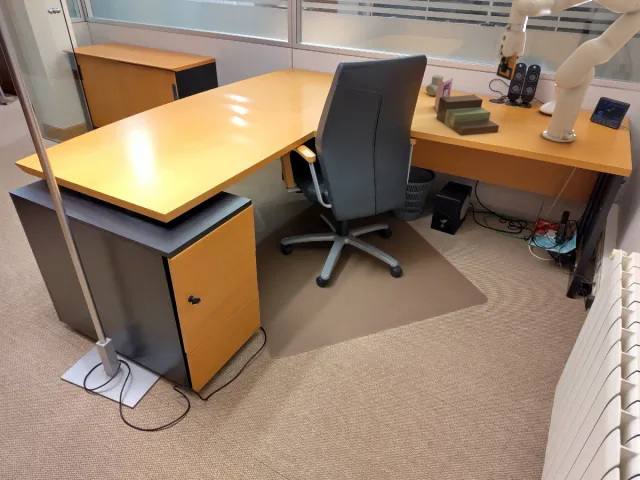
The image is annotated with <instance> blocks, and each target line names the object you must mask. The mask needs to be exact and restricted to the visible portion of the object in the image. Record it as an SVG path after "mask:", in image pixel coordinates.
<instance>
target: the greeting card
mask: <svg viewBox="0 0 640 480" xmlns="http://www.w3.org/2000/svg"><path fill="white" fill-rule="evenodd" d="M453 80H454V78H453V77H452V78H450V79H448V80H445V81H444V80H443V81H442V80H441V78H440V77H439V80H438V86H437V93H436V96H435V99H434V106H433V107H434V109H435V110H436V112H438V106H439V100H440V97H450V96H451V92H452V86H453Z"/></svg>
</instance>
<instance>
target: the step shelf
mask: <svg viewBox="0 0 640 480" xmlns="http://www.w3.org/2000/svg"><path fill="white" fill-rule="evenodd" d="M483 100H484V99H483V98H481V97H479V96H477V95H475V94H467V95H465V94H464V95H452V96H451V95H450V97H440V100H439V106H438V112H437V111H436V112H437V113H436V119H437V120H439V121H440V122H441V123H443V124H444V125H446V126H447V127H449V128H451V129H452V130H453V131H455V132H456V133H458V134H459V135H461V136H467V135H468V136H469V135H479V134H489V133H490V134H491V133H498V131H499V127H500V125H499V124H497V123H496V122H494V121H492V120H490V117H491V113H492V112H491V111H490V110H487V109H485V108H484V107H482V105H483Z"/></svg>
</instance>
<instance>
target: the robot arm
mask: <svg viewBox="0 0 640 480" xmlns="http://www.w3.org/2000/svg"><path fill="white" fill-rule="evenodd" d="M591 1H592V2H595V3H597V4H598V5H600V6H602V7H603V8H606V9H608V10H609V11H611V12H612V13H615V14H621V15H620V17H618V18H617V19H616V20H615V21H613V22H612V23H611V24H610V25H609V27H608V28H606V30H605V31H603V33H602V34H601V35H599V36H598V37H595V38H592V39H588V40H586V41H584V42H583V43H581V44H580V45H579V46H578V47H577V48H576V49H575V50H574V51H573V52H572V53H571V54H570V55H569V56H568V57H567V58H566V59H565V60H564V61H563V63H561V65H560V66H559V67H558V68H557V69H556V71H555V74H554V79H553V80H554V84H556V85H557V86H558V87H559V88H562V89H561V91H560V93H559V96H558V99H557V102H556V105H555V108H554V111H553V114H552V115H551V118H550V121H549V124H548V128H547V130H544V131H542V132H541V133H542V134H541V136H542V137H543V138H545V140H546V139H547V140H549V141H552V142H556V143H557V142H558V143H570V142H573V141H575V139H577V138H578V136H577V135H576V134H575V130H574V127H575V125H576V122H577V119H578V116H579V114H580V111H581V108H582V104H583V103H584V99H585V97H586V94H587V92H588V89H589V87H590V86H591V84H592V82H593V79H594V77H595V73H596V71H595V70H596V68H595V67H596V66H599V65H603V64H604V63H607V62H609V60H611V59H612V58H613V56H615V54H617V53H618V52H619V51H620V50H621V49H622V48H623V47H624V46H625V45H626V44H627V43H628V42H629V41H630V40H631V39H632V38H633V37H634V36H635V35H636V34H637V33H638V32H639V31H640V0H512V3H511V7H510V11H509V16H508V21H507V24H506V25H505V26H504V29H506V30H505V31H504V33H503V35H502V37H501V41H500V44H499V48H498V53H497V55H496V58H497V59H499V61H500V60H501V62H502V67H501V72H503V73H506V71H507V66H508V64H507V62H508V57H512V56H513V53H514V51H515V54H516V52H517V60H518V59H520V58H522V57H523V55H524V52H525V46H526V41H527V31H526V28H527V22H528V19H529V18H537V17H545V16H549V15H553V14H555V13H559V12H561V11H565V10H568V9H571V8H573V7H576V6H580V5H582V4H585V3H589V2H591ZM502 55H503V57H502Z"/></svg>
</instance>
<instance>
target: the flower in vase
mask: <svg viewBox="0 0 640 480" xmlns="http://www.w3.org/2000/svg"><path fill="white" fill-rule="evenodd" d="M561 89H562V88H559V87H558V86H557V85H556V84H555V83H554V94H553V98H552V99H551V100H550V101H548V102H546V103H544V104H543V105H541V106H540V108H539V110H540V112H542V113H544V114H546V115H551V116H552V114H553V111H554V108H555V105H556V102H557V99H558V96H559V93H560V91H561Z"/></svg>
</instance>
